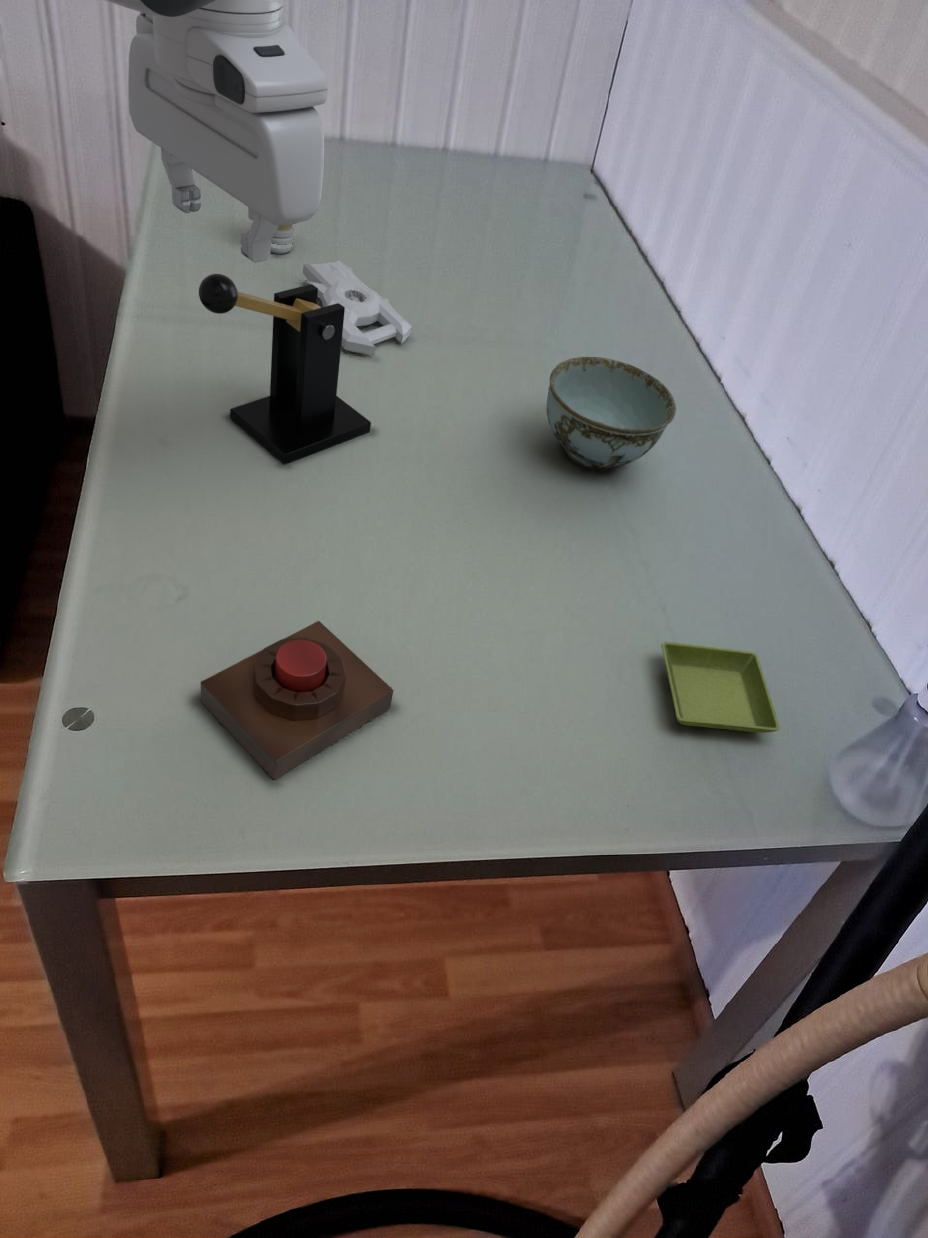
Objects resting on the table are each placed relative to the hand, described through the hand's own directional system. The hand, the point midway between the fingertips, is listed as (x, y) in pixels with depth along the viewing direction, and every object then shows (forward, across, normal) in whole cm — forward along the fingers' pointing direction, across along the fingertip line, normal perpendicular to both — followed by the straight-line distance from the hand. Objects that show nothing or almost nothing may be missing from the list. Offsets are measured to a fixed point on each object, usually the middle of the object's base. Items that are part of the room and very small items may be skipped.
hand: (220, 232), depth 77 cm
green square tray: (+22, +49, +15) cm, 56 cm away
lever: (+9, 0, +4) cm, 10 cm away
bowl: (+22, +20, +34) cm, 45 cm away
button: (+18, +29, -13) cm, 37 cm away
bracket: (+22, 0, +10) cm, 24 cm away
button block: (+22, +29, -13) cm, 39 cm away
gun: (+22, -15, +29) cm, 39 cm away
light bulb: (+22, -33, +32) cm, 51 cm away
